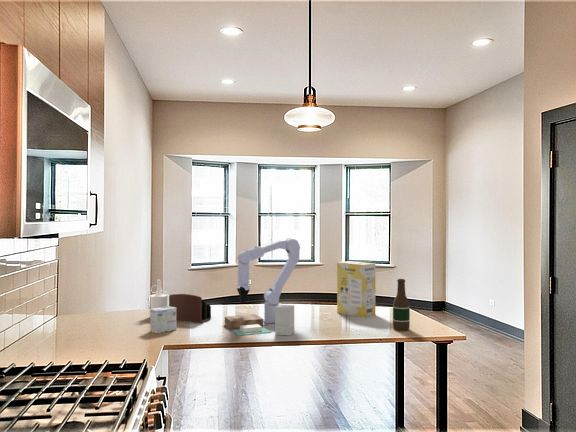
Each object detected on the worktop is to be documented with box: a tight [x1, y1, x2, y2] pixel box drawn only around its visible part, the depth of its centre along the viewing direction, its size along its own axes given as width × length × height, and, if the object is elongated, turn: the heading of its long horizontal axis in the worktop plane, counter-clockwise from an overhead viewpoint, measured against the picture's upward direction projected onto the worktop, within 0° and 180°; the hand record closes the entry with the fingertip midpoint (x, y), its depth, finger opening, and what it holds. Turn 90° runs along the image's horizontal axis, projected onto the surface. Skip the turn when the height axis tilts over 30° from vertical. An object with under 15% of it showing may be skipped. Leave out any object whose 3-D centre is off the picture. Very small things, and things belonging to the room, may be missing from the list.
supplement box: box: [274, 304, 296, 336], centre depth 232 cm, size 7×7×13 cm
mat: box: [231, 326, 272, 337], centre depth 236 cm, size 16×11×1 cm
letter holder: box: [169, 293, 212, 324], centre depth 262 cm, size 10×20×14 cm, turn 68°
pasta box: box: [336, 260, 376, 319], centre depth 277 cm, size 18×10×28 cm, turn 44°
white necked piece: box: [149, 279, 171, 309], centre depth 270 cm, size 10×9×20 cm
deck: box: [224, 313, 264, 331], centre depth 248 cm, size 16×12×4 cm
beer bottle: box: [392, 278, 411, 332], centre depth 240 cm, size 8×8×24 cm
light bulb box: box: [149, 305, 178, 334], centre depth 238 cm, size 11×7×11 cm, turn 134°
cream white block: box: [240, 324, 262, 333], centre depth 237 cm, size 9×6×2 cm, turn 112°
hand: (242, 302), depth 254 cm, fingers closed
